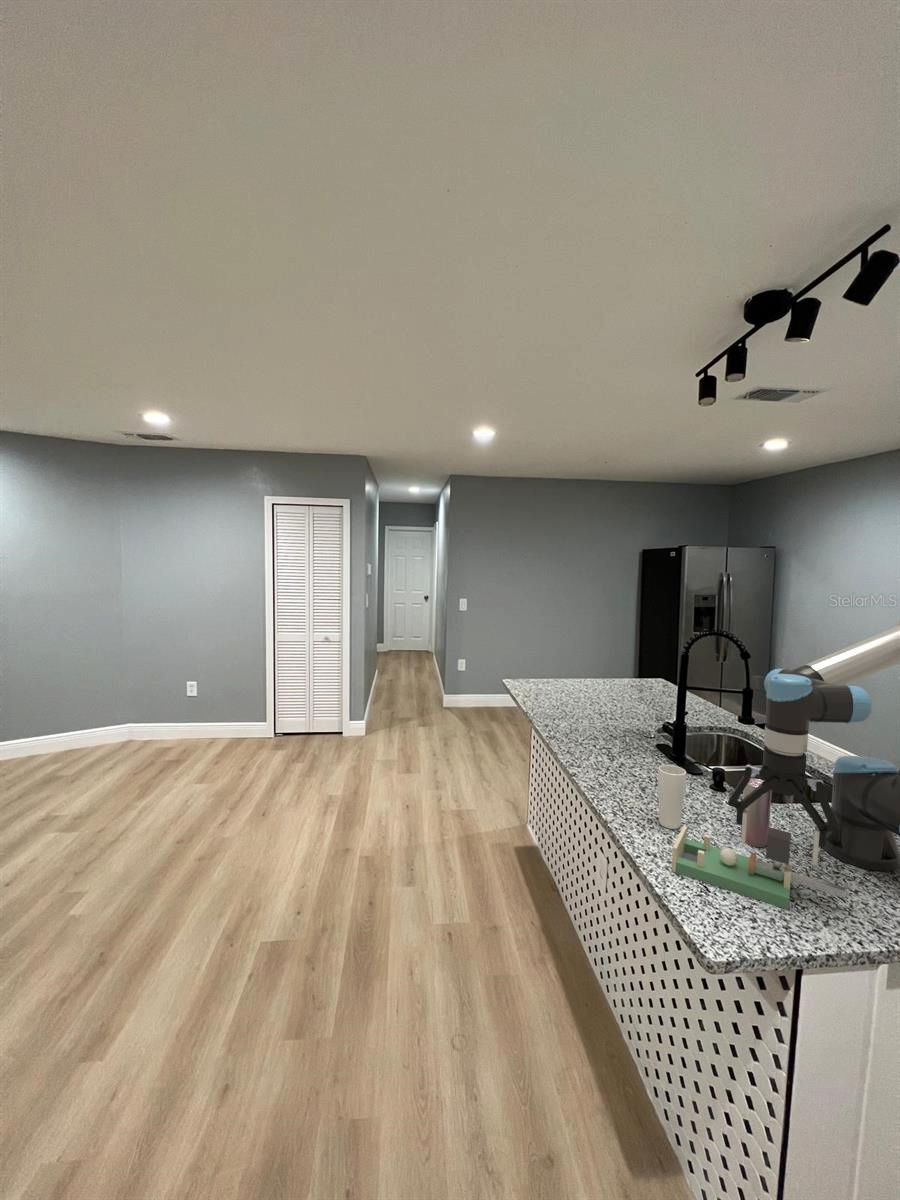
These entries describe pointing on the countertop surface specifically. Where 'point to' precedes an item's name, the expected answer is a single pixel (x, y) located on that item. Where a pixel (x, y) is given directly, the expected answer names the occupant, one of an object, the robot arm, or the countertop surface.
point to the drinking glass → (671, 795)
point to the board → (728, 871)
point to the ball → (729, 856)
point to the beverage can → (757, 815)
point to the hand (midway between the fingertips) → (778, 849)
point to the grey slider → (780, 854)
